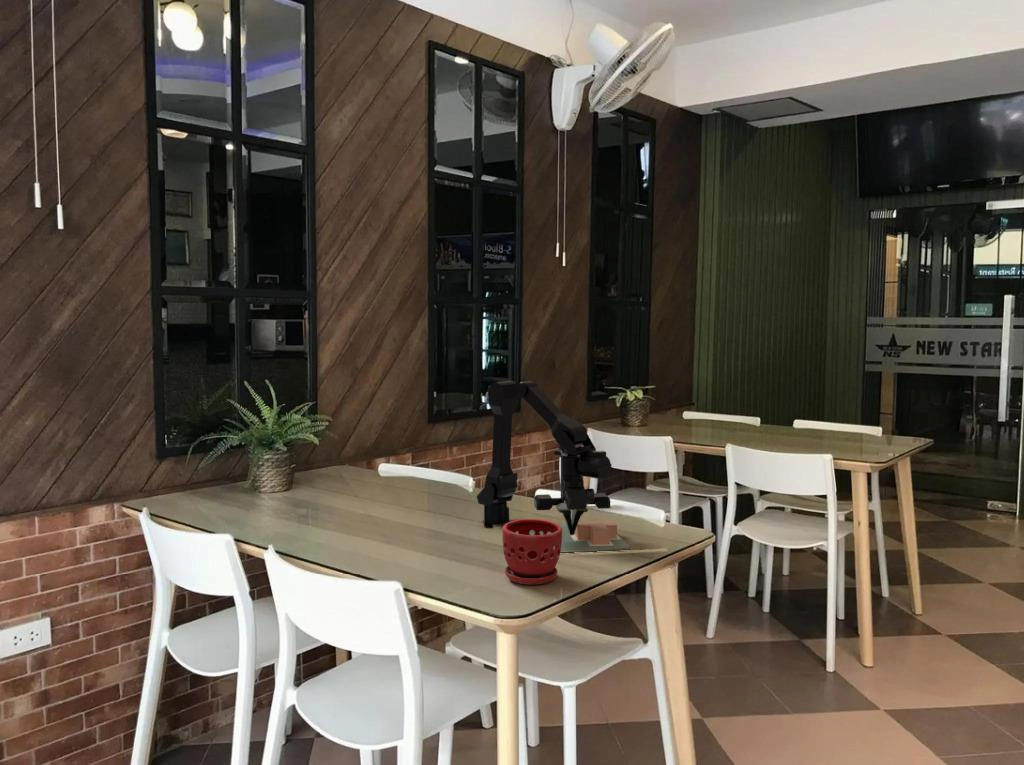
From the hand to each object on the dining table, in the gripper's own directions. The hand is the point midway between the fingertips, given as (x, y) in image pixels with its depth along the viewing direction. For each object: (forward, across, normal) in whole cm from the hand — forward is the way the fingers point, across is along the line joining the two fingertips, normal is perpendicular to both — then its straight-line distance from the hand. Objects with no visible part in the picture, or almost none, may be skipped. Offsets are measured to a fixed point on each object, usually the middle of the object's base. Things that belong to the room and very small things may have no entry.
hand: (571, 534), depth 215 cm
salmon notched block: (+1, +7, -1) cm, 7 cm away
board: (+2, +1, +3) cm, 4 cm away
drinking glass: (+2, +6, +36) cm, 37 cm away
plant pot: (+2, -14, -26) cm, 30 cm away
